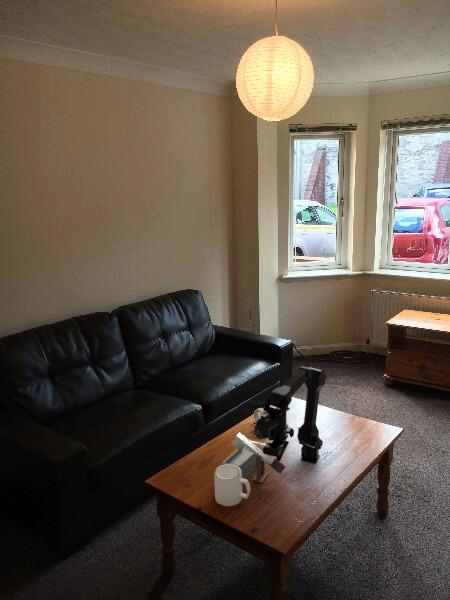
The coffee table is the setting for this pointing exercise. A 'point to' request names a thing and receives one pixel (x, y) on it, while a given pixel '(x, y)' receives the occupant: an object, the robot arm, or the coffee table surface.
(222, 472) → the mug
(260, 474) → the lever stand
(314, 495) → the coffee table surface
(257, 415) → the watch
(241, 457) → the chute
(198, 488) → the coffee table surface
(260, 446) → the cream square tray
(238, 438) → the lever
